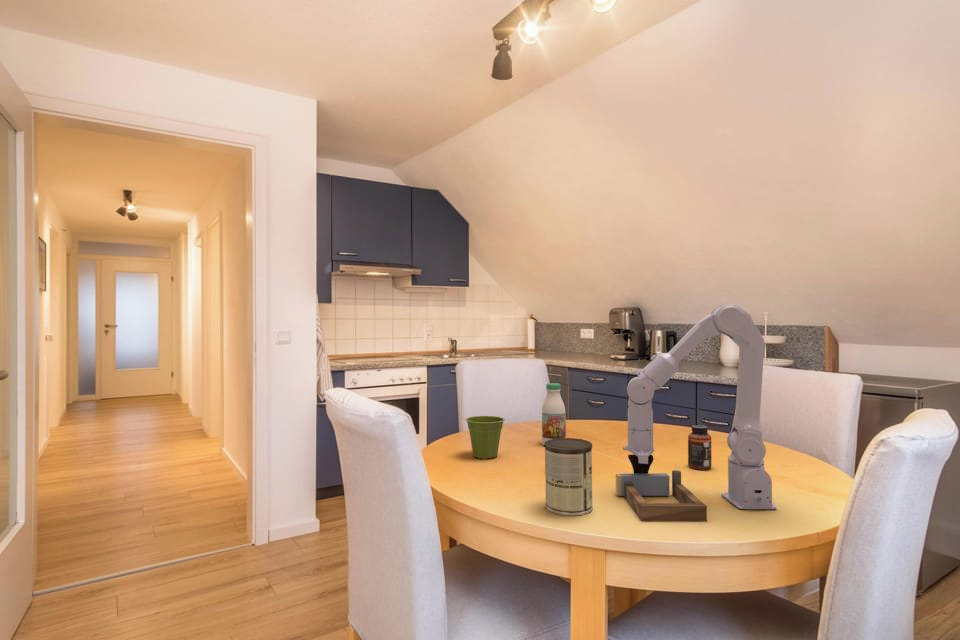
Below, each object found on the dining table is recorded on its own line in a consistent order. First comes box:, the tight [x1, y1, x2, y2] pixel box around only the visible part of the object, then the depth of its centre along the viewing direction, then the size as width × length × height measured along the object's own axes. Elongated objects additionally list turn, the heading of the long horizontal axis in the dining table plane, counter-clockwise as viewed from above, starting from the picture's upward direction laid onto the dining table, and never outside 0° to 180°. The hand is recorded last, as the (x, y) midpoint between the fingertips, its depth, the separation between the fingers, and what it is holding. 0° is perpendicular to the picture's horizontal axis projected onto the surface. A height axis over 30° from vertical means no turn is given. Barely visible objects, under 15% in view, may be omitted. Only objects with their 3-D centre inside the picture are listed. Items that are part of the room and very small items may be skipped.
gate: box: [615, 472, 671, 497], centre depth 123 cm, size 12×2×4 cm, turn 89°
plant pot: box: [464, 415, 506, 460], centre depth 160 cm, size 12×12×11 cm
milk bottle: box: [541, 382, 567, 446], centre depth 173 cm, size 8×8×20 cm
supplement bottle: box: [687, 424, 712, 471], centre depth 146 cm, size 6×6×11 cm
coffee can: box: [544, 437, 594, 517], centre depth 116 cm, size 10×10×14 cm
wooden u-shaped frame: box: [624, 469, 708, 522], centre depth 116 cm, size 17×13×6 cm
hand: (640, 486), depth 125 cm, fingers closed, pressing on gate
